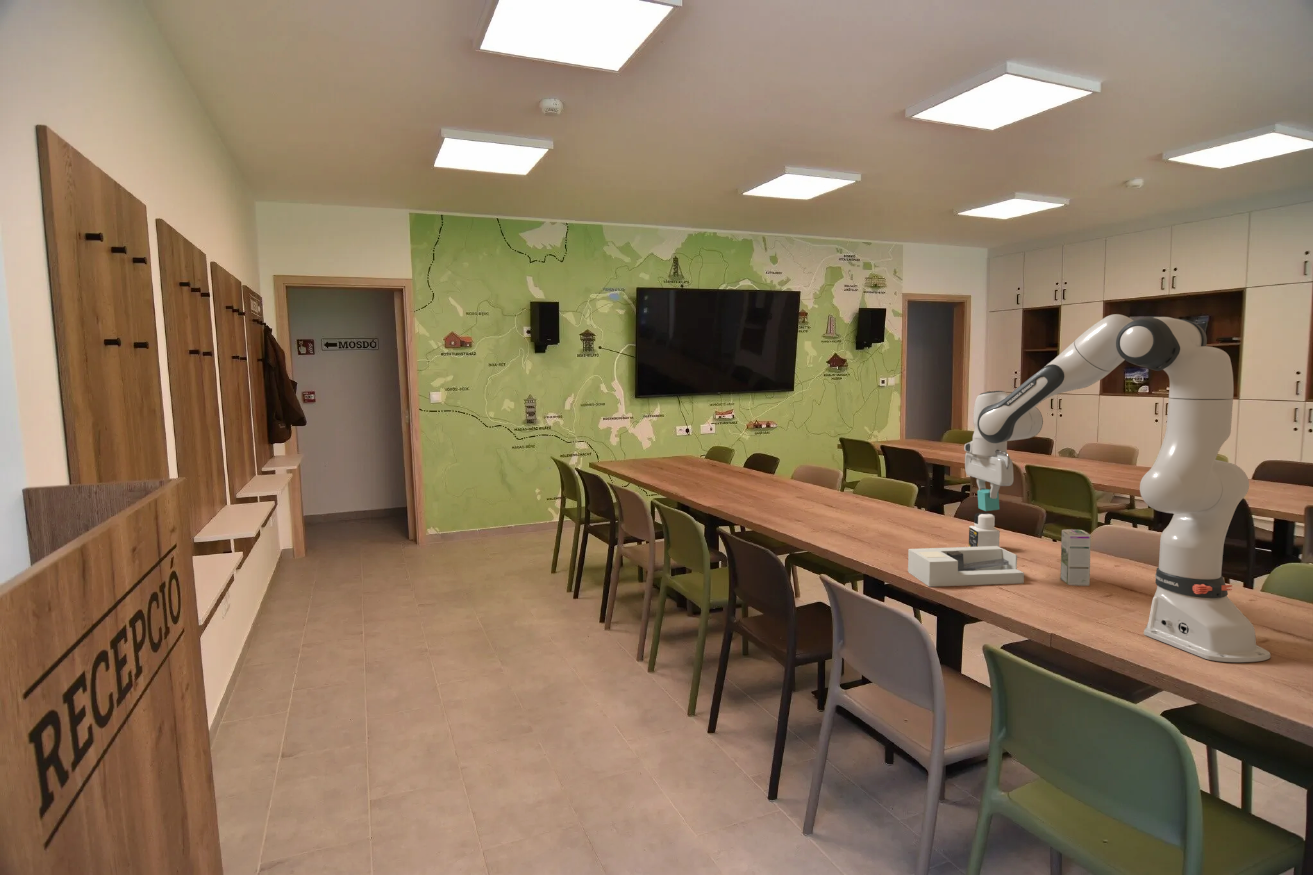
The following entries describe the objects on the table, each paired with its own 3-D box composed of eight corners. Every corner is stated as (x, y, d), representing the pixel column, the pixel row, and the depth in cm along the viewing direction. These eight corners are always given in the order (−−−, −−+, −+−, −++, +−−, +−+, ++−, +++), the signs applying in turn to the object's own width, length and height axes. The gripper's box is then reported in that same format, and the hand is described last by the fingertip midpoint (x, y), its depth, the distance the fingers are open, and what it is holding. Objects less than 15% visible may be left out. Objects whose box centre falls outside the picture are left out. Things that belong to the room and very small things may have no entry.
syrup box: (1090, 586, 190) (1092, 534, 189) (1066, 585, 191) (1068, 533, 190) (1082, 579, 196) (1084, 529, 194) (1059, 579, 197) (1061, 528, 195)
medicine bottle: (968, 546, 234) (969, 511, 232) (989, 546, 233) (990, 511, 232) (977, 552, 226) (978, 515, 225) (999, 551, 226) (1000, 515, 225)
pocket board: (1023, 583, 194) (1024, 558, 193) (929, 586, 192) (929, 561, 191) (996, 568, 208) (997, 545, 207) (908, 572, 206) (908, 548, 205)
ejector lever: (1009, 564, 199) (1007, 547, 198) (953, 572, 198) (952, 555, 197) (1002, 561, 202) (1001, 544, 201) (948, 569, 201) (946, 552, 200)
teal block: (999, 509, 197) (998, 491, 196) (985, 511, 197) (984, 493, 196) (992, 506, 201) (990, 488, 200) (978, 508, 200) (977, 490, 200)
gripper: (1021, 452, 187) (1019, 503, 188) (982, 443, 207) (980, 489, 208) (998, 453, 186) (996, 503, 188) (961, 444, 207) (959, 490, 208)
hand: (987, 496), depth 198 cm, fingers closed on teal block, 4 cm apart
